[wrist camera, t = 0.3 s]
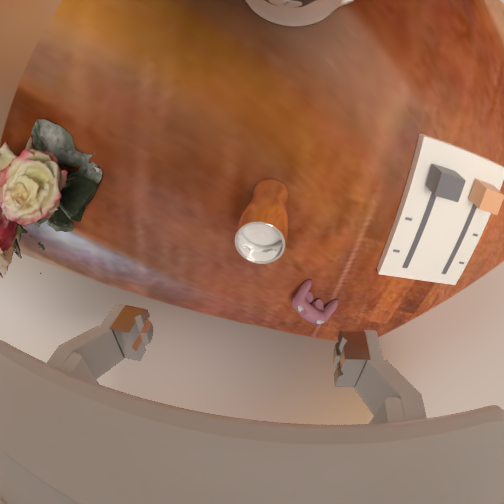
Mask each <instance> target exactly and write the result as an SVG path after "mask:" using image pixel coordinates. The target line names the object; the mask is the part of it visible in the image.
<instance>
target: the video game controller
mask: <svg viewBox="0 0 504 504" xmlns="http://www.w3.org/2000/svg"><path fill="white" fill-rule="evenodd" d="M311 286H312V280H311V279H308V280H306V281H305V282H304V283H303V284H302V285H301V287H300V288H299V290H298V292H297V293H296V295H295V296H294V297H293V299H292V306H293V308H294V309H295V310H297V312H298V313H299V314H300V315H301V316H302V317H303V318H304V319H305V320H307V321H309V322H311V323H315V324H322V323H324V322H326V321H327V320H328V319H329V318H330V316H331V315H332V313H333V312H334V311H335V309H336V308H337V306H338V300H336V299H335V300H332V301H331V302H330V303H329V304H328V305H327V306H326V307H325V308H324V309H323V301H322V300H320V299H317V300H314V301H313V294H312V293H311V292H308V291H309V290H310V288H311ZM312 301H313V304H312V305H311V304H310V303H311V302H312Z"/></svg>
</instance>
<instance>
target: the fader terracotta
mask: <svg viewBox="0 0 504 504" xmlns="http://www.w3.org/2000/svg"><path fill="white" fill-rule="evenodd" d="M469 199H470V200H471V201H472V202H473V203H474V204H475V205H476V206H477V208H478V209H480V210H484V211H487V212H489V213H492V214H495V215H497V214H498V211H499V209H500V206H501V204H502V201H503V199H504V194H503V193H502V192H500V191H499V190H498V189H497V188H496V187H495V186H494V185H491V184H489V183H486V182H484V181H481V180H478V179H475V182H474V185H473V188H472V191H471V194H470V196H469Z"/></svg>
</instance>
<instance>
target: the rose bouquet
mask: <svg viewBox="0 0 504 504" xmlns="http://www.w3.org/2000/svg"><path fill="white" fill-rule="evenodd" d="M7 143H8V142H7V141H6V142H5V143H4V145H3V146H2V147H1V148H0V276H2V278H3V277H4V275H5V274H6V271H8V266H9V264H10V263H11V260H12V255H13V252H14V251H15V253H16V254H17V255H18V257H20V258H21V255H20V248H19V245H18V242H17V240H18V241H19V242H20V238H21V233H27V231H26V230H25V229H23V227H22V226H21V225H24V226H26V225H28V224H31V223H35V225H37V226H38V227H39V226H40V224H41V223H43V222H45V221H46V219H48V218H49V220H48V223H47V224H48V225H49V226H51V227H53V228H54V230H55V231H64V232H67V231H72V230H73V229H74V226H73V221H72V220H76V221H81V218H82V215H83V212H84V210H85V207H84V206H86V205H87V204H88V203H89V202H90V201H91V199H92V198H93V196H94V195H95V192H96V190H97V185H98V184H99V182H100V180H101V178H102V169H100V168H99V166H97V165H95V163H94V162H91V163H90V164H89V163H88V161H89V158H90V157H91V156H92V155H90V154H85V153H81V152H78V151H76V150H75V147H74V143H73V139H72V135H71V134H70V133H68V132H67V131H66V130H65V129H64V128H62V127H61V126H59V125H57V124H54V123H52V122H50V121H47V120H45V119H41V120H40V119H37V121H36V123H35V124H34V126H33V128H32V132H31V137H30V139H29V141H28V143H27V146H26V148H25V149H24V150H23V151H22V153H21V154H20V156H16V155H14V154H13V152H12V150H11V148H10V147H9V146H8V144H7ZM95 152H96V151H95ZM94 154H95V153H94ZM94 154H93V155H94ZM59 165H66V166H67V167H70V168H74V167H76V166H78V165H80V167H79V170H75V171H71V172H68V171H67V170H66V169H62V170H61V169H60V167H59ZM78 223H79V222H78ZM29 236H30V235H29ZM31 237H32V236H31ZM38 245H39V247H40V248H41V250H43V251H44V249H45V248H44V246H43V244H42V243H41V242H39V243H38ZM40 274H41V273H40Z"/></svg>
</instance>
